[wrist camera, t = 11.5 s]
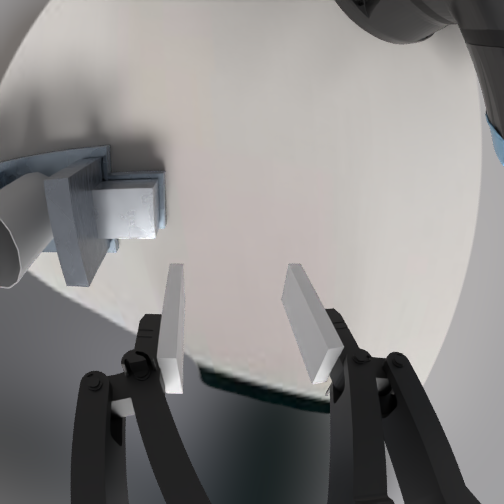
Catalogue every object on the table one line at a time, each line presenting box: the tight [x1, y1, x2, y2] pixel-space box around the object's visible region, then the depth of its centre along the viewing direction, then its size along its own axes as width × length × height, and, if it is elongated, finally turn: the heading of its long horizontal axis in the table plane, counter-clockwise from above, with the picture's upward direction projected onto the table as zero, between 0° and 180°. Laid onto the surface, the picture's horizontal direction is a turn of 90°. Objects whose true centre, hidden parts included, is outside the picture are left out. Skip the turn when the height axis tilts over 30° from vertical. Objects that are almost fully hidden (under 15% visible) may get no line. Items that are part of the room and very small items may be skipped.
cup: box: [0, 172, 54, 288], centre depth 19 cm, size 8×8×10 cm
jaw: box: [43, 157, 160, 287], centre depth 22 cm, size 10×9×8 cm
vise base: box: [0, 145, 166, 252], centre depth 22 cm, size 12×24×9 cm, turn 84°
